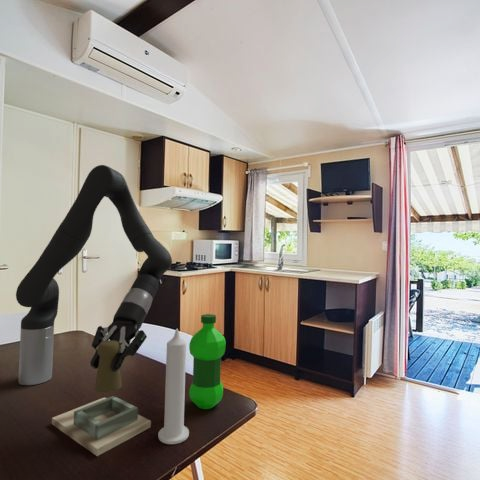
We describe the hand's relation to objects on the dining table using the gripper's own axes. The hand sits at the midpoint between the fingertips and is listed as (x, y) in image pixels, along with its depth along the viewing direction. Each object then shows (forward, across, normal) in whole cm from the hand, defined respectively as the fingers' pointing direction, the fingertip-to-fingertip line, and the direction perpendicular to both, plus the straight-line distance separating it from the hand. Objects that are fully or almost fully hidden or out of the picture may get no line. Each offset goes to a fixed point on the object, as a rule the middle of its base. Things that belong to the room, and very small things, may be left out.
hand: (103, 368), depth 77 cm
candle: (+8, +17, +14) cm, 23 cm away
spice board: (+9, -2, +12) cm, 15 cm away
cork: (+2, 0, +5) cm, 6 cm away
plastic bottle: (-4, +18, +25) cm, 32 cm away
